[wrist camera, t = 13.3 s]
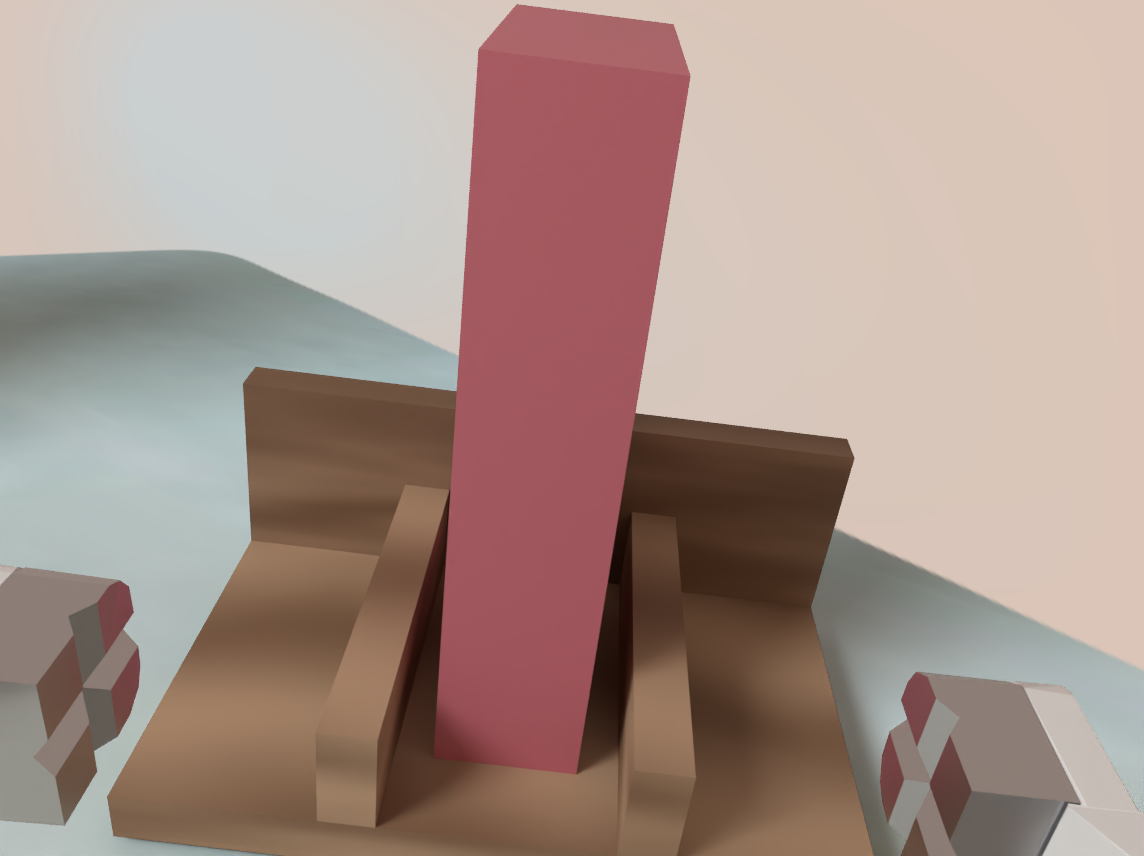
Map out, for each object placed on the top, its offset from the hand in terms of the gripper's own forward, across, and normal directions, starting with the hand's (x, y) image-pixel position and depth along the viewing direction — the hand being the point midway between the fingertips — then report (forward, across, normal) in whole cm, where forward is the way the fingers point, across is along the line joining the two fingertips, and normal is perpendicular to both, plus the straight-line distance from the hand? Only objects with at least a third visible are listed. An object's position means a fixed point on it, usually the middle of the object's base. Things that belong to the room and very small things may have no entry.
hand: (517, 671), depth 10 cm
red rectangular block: (+11, 0, +10) cm, 15 cm away
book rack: (+11, 0, +11) cm, 16 cm away
